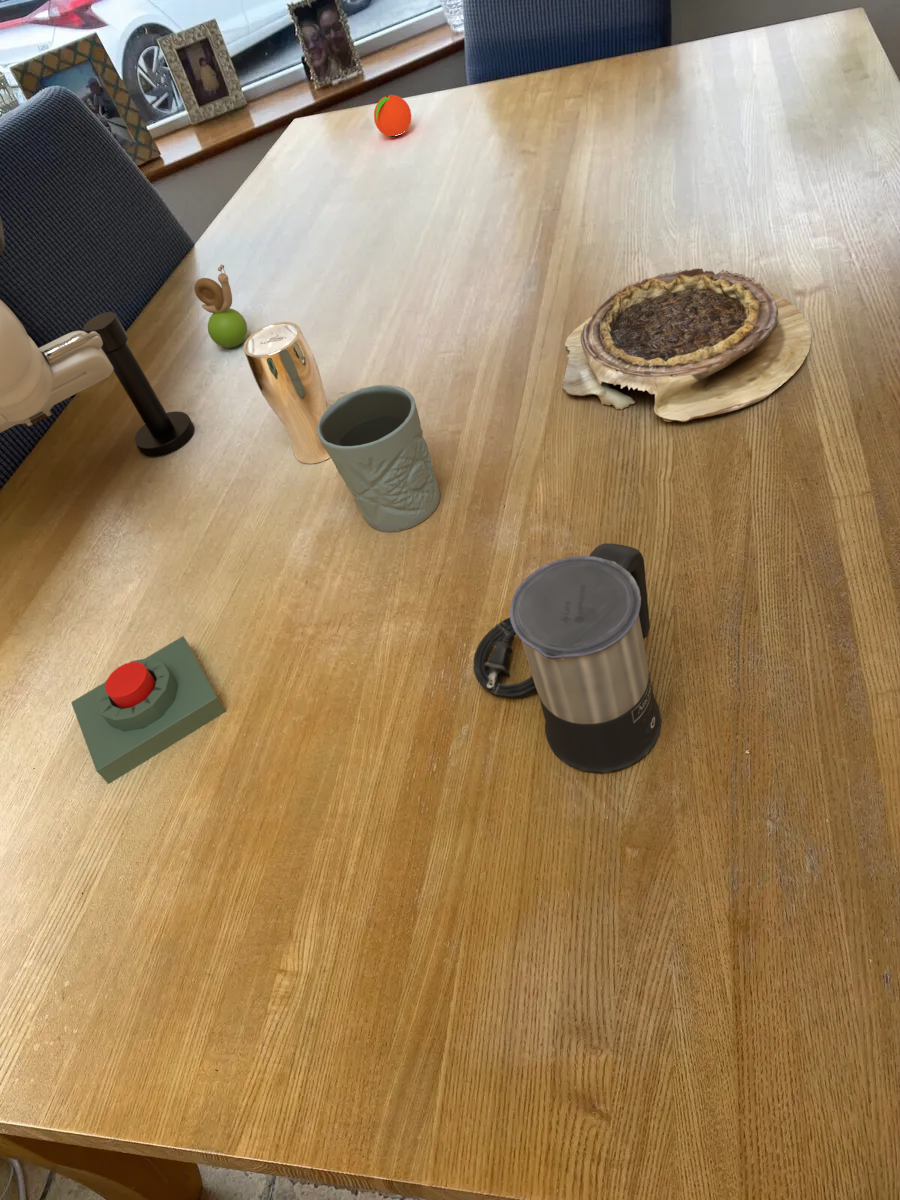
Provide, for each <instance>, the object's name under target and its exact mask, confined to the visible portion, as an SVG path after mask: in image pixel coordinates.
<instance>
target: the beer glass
mask: <svg viewBox="0 0 900 1200" xmlns="http://www.w3.org/2000/svg"><path fill="white" fill-rule="evenodd" d="M242 348H243V349H242V350H243V353H244V355H245V358H246V360H247V363H248V365H249V368H250V371H251V374H252V376H253V378H254V381H255V383H256V385H257V387H258V389H259V391H260V393H261V394H262V396H263V398H264V399H265V401H266V403H267V404H268V405H269V407H270V408H271V410H272V411H273V412H274V414H275V415H276V417H277V418H278V420H279V421H280V422H281V423H282V425H283V427H284V428H285V430H286V431H287V434H288V436H289V439H290V442H291V446H292V452H293V454H294V457H295V459H296V460H297V461H298V462H299V463H302V464H306V465H312V464H319V463H322V462H325V461H327V460H329V459H331V457H330V456H329V454H328V453H327V451H326V449H325V448H324V446H323V444H322V442H321V441H320V439H319V437H318V432H317V426H318V423H319V420H320V418H321V416H322V415H323V414H324V412H325V411H326V410H327V409H328V408H329V407H328V405H327V400H326V396H325V395H326V394H325V390H324V385H323V381H322V377H321V372H320V369H319V367H318V364H317V362H316V358H315V356H314V353H313V351H312V350H311V347H310V346H309V344H308V341H307V339H306V338H305V336H304V334H303V332H302V330H301V327H300V326H299V325H298V324H297V323H295V322H292V321H279V322H274V323H271V324H268V325H266V326H263V327H261V328H259V329H258V330H256V331H254V332H253V333H252V334H250V335H249V336H248V337H247V339H246V340H244V342H243V347H242Z"/></svg>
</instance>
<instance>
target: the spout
mask: <svg viewBox="0 0 900 1200" xmlns="http://www.w3.org/2000/svg"><path fill="white" fill-rule="evenodd" d="M83 331H84V332H86V333H90V332H93V331H95V332H97V333H98V334H99V335H100V337H101V339H102V342H103V345H102V347H101V348H102V350H103V351H104V353H108V352H111V351H114V350H116V349H118V348H120V347H121V346H122V345H124V344H125V343H126V342H128V339H129V336H128V334H127V331H126V330H125V328H124V327H123V325H122V323H121V321H120V320H119V317H118V316H117V314H116V313H115V312H111V311H109V312H102V313H100V314H97V315H95V316H93V317H92V318H90V319H89V320H88V321H87V322H86V323H85V324H84V326H83Z"/></svg>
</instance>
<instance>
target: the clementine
mask: <svg viewBox="0 0 900 1200" xmlns="http://www.w3.org/2000/svg"><path fill="white" fill-rule="evenodd" d="M373 110H374V111H373V120H374V124H375V127H376V129H378V131H379V132H380V133H381V134H382V135H384V136H385V137H388V136H395V135H398V134H401V133H403V132H404V131H406V130H407V131H408V130H409V128H410V126H411V124H412V111H411V108H410V106H409V104H408V102H407V101H406V100H405V99H403V98H402V97H401V96H398V95H395V94H389V95H386V96H384V97H382V98H380V99H379V101H378V102H377V104H375V107H374V109H373ZM407 131H406V132H407Z"/></svg>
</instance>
